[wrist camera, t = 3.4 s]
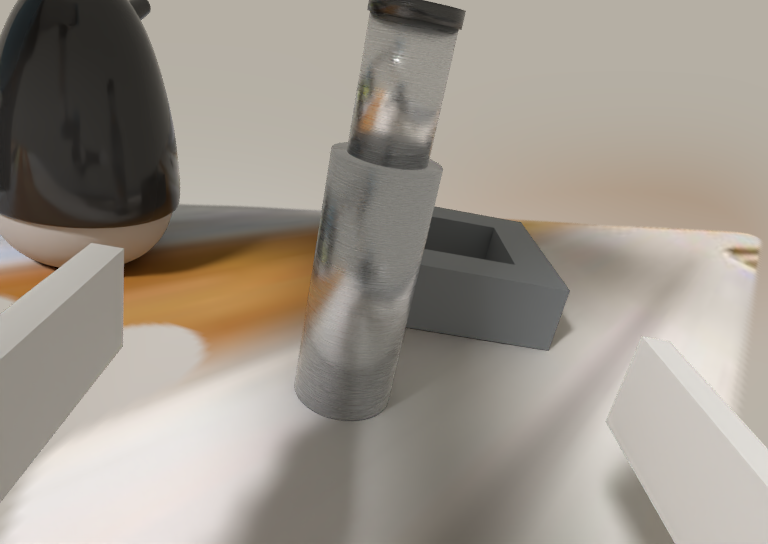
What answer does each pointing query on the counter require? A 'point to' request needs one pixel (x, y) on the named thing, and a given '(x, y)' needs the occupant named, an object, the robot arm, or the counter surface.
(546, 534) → the counter surface
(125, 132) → the dark grey egg shape
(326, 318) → the tube
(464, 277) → the socket block
